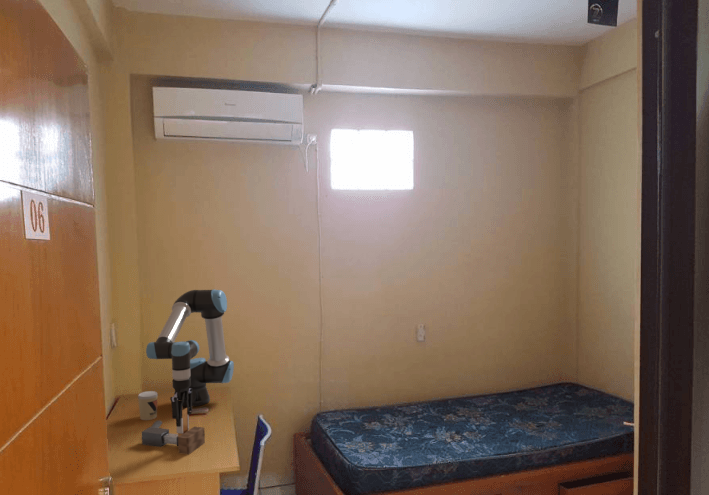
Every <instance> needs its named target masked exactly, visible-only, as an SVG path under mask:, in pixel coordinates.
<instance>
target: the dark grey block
mask: <svg viewBox="0 0 709 495" xmlns="http://www.w3.org/2000/svg"><path fill="white" fill-rule="evenodd" d="M165 433H170V429H169V428H163V427H162V428H161V427H159V428H154V427H151V426H150V427H148V428H146V429H144V430H143V431H141V445H143V446H149V447H150V446H151V447H158V448H163V447H164V446H166V445H167V443H162V435H163V434H165Z"/></svg>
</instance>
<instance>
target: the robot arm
mask: <svg viewBox="0 0 709 495" xmlns="http://www.w3.org/2000/svg"><path fill="white" fill-rule="evenodd" d="M227 299H228V298H227V296H226V293H225V292H224V291H223V290H221V289H215V288H214V289H192V290H188V291H186V292H184V293H183V294H182V295H180V296H179V297H178V298H177V299H176V300H175V301H174V303H173V304H172V306H171V313H170V314H169V316H168V318H167V320H166V322H165V324H164V326H163V328H162V330H161V331H160V333H159V335H158V337H157V338H156V340H155V341H151V342H148V343H147V345H146V348H145V353H146V357H147V358H148V359H150V360H171V366H172V367H171V369H172V370H171V372H172V373H171V376H172V379H171V380H172V388H173V389H174V395H173V396H171V397H170V398H169V399H170V402H171V417H172V419H173V420H175V426H176V434H178V433H181V434H182V433H183V418H181V417H182V407H187V420H188V430H190V424H189V423H190V415H191V414H192V411H193V407H199V406H200V407H201V406H203V405H206V404H208V403H209V402H210V401H211V400H210V399H211V396H210V394H209V391H208V387H207V384H229V383H230V382H231V381H232V379H233V375H234V371H235V370H234V368H235V366H234V365H235V364H234V363H235V362H234V361H233V360H230V356H229V355H228V354H227V353H226V345H225V344H226V343H225V335H224V334H225V333H224V325H223V316H224V315H225V313H226V312H227V308H228V300H227ZM194 313H196V314H197V313H198V314H199V313H200V316H201V318H203V319H202V320H204V322H205V323H204V324H205V329H206V330H205V331H206V339H207V347H208V355H209V357H208V359H206V357H196V356H197V355H198V354H199V352H200V344H199V342H197V340H193V339H189V340H186V341H176V339H177V337H178V335H179V334H180V332H181V329H182V327H183V325H184V324H185V321H186V320H187V318H188V317H190V315H191V314H194ZM195 357H196V358H195Z"/></svg>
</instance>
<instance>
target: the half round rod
mask: <svg viewBox="0 0 709 495" xmlns="http://www.w3.org/2000/svg"><path fill="white" fill-rule="evenodd" d="M162 424H163V421H161V420H158V419H157V420H155V421H154V422H153V423H152V425H151V426H150V427H154V428H161V426H162Z"/></svg>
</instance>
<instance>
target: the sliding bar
mask: <svg viewBox="0 0 709 495" xmlns="http://www.w3.org/2000/svg"><path fill="white" fill-rule="evenodd" d="M181 418H183V433H182V434H184V433H185V432H187V431H188V420H187V407H183V406H182V417H181ZM182 434H181V433H171V432H169V433H165V434H163V435H162V443H167V444H168V445H169V444H170V445H175V446H176V447H177V448H179V446H178V437H179V436H181V435H182ZM167 444H166V445H167Z"/></svg>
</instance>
